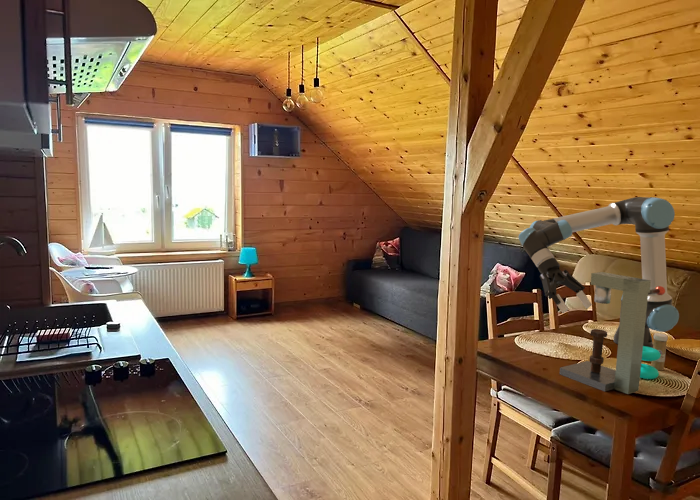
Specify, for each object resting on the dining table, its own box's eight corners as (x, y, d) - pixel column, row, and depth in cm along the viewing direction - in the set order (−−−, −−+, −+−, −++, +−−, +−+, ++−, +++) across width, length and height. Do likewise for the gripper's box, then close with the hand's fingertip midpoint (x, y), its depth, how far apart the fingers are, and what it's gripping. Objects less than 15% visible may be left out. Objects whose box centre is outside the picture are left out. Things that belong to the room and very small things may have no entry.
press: (559, 374, 192) (567, 271, 187) (600, 363, 204) (608, 267, 199) (620, 397, 172) (631, 283, 167) (661, 384, 184) (672, 277, 179)
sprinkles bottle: (652, 370, 198) (655, 335, 197) (648, 366, 203) (652, 332, 201) (665, 371, 197) (669, 336, 196) (662, 367, 202) (665, 333, 200)
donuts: (663, 348, 192) (658, 355, 185) (660, 375, 194) (655, 382, 186) (633, 343, 199) (626, 349, 191) (630, 368, 200) (624, 375, 192)
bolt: (602, 375, 184) (605, 334, 182) (586, 372, 187) (590, 331, 185) (604, 370, 189) (607, 330, 187) (589, 368, 192) (592, 328, 190)
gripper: (560, 266, 213) (591, 310, 202) (517, 271, 200) (548, 318, 190) (572, 254, 208) (605, 299, 197) (529, 259, 195) (562, 307, 184)
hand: (577, 309), depth 193 cm, fingers open, 13 cm apart
